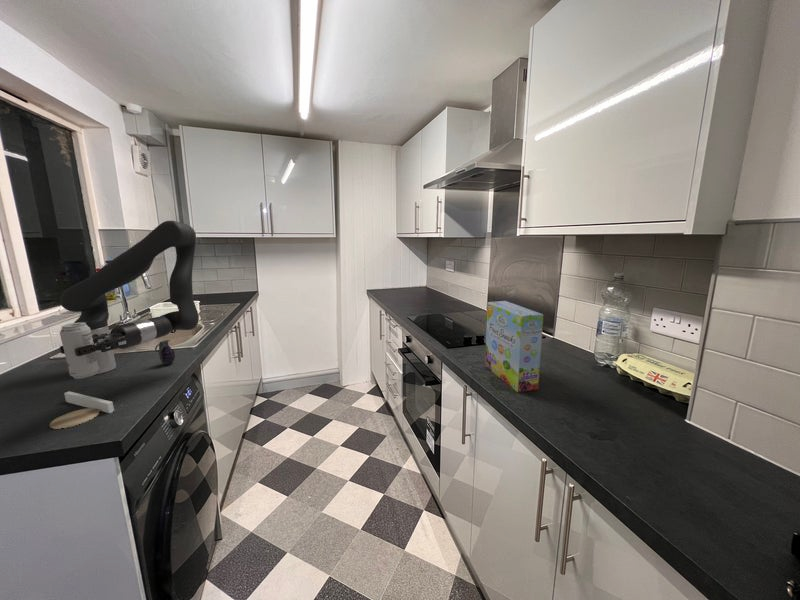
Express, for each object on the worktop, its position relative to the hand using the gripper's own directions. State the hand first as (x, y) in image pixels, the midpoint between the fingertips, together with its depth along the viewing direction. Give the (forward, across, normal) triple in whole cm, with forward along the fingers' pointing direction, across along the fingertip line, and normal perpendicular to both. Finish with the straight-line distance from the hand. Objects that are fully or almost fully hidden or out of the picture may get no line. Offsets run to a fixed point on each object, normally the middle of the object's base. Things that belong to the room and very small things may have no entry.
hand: (68, 351), depth 88 cm
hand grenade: (-35, -14, +20) cm, 43 cm away
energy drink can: (-2, 0, +8) cm, 9 cm away
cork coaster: (+1, -1, +20) cm, 20 cm away
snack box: (-62, +116, +20) cm, 133 cm away
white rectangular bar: (-4, -5, +20) cm, 21 cm away
